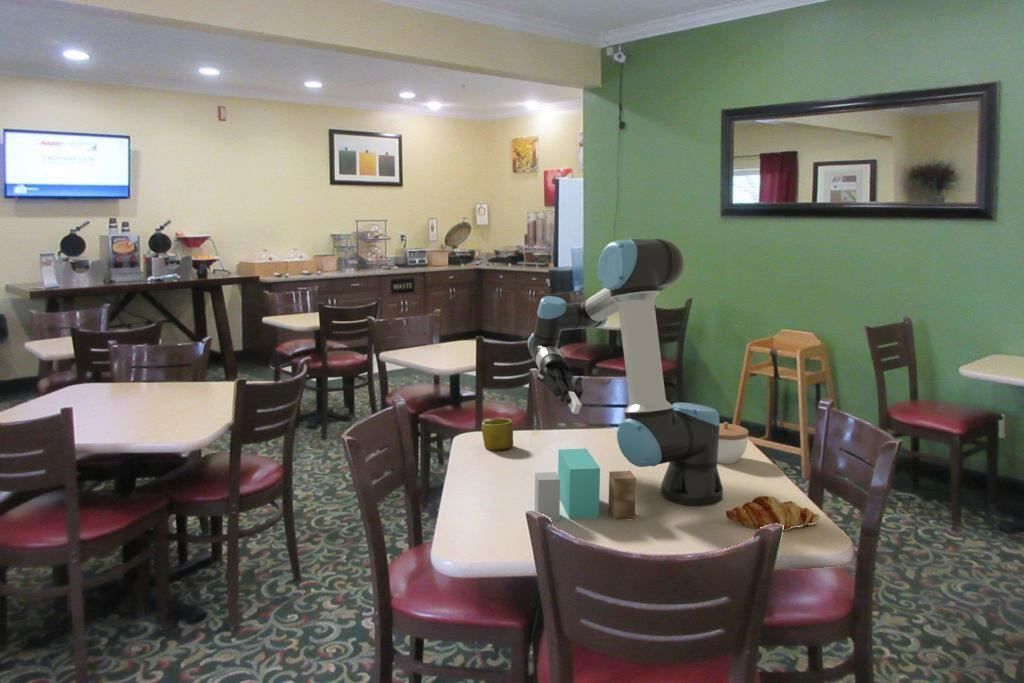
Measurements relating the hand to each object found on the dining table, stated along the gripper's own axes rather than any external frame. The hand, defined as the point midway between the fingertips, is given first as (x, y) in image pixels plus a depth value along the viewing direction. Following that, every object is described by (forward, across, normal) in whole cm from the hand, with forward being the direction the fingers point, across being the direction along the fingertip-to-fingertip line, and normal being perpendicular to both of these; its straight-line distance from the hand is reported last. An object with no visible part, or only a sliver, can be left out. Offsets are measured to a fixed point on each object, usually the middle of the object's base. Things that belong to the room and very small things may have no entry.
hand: (577, 409), depth 193 cm
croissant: (+35, -39, -3) cm, 53 cm away
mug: (-34, +4, -34) cm, 48 cm away
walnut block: (+23, -9, -14) cm, 28 cm away
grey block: (+20, +8, -19) cm, 29 cm away
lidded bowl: (-8, -54, -13) cm, 56 cm away
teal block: (+16, -2, -18) cm, 24 cm away
